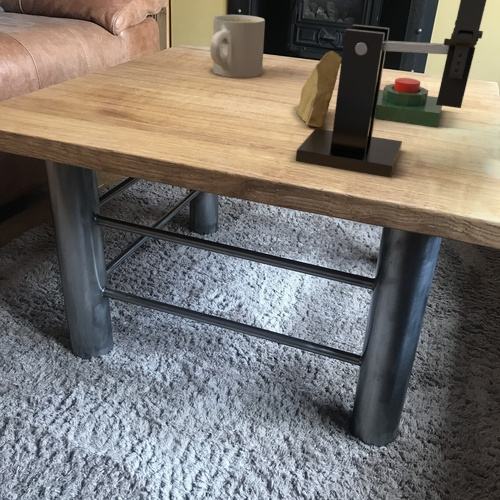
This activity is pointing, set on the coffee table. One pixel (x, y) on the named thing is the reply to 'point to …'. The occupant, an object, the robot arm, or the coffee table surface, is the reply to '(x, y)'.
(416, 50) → the knife lever
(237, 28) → the coffee mug
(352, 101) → the cutter
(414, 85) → the button
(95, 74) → the coffee table surface
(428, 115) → the block
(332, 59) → the rock
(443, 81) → the robot arm
